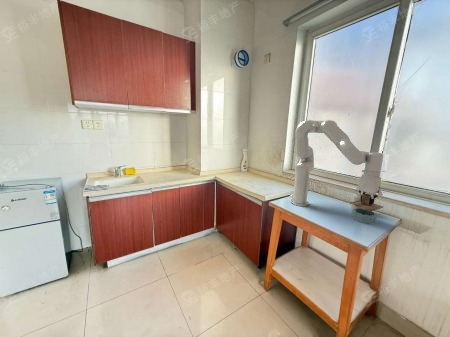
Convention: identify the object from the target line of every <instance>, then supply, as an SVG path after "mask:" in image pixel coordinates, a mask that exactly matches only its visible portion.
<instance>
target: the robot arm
mask: <svg viewBox="0 0 450 337" xmlns="http://www.w3.org/2000/svg"><path fill="white" fill-rule="evenodd" d="M314 133H315V134H324V135H325V136H326V138H327V139H329V140H330V141H331V142H332V143H333V144H334V146H335V147H336V148H337V149H338V150H339V152H340V153H341V154H342V155H343V156H344V157H345V159H347V161H348V162H350V164H353V165H355V166H359V165H362V164H365V165H364V169H362V170H361V172H362V173H363V174H361V176H360V178H359V181H358V185H357V186H356V188H355V189H356V190H357V192H358V193H360V195H361V199H360V200H361V201H362V195H363V194H370V195H371V198H370V201H369V205H372V204H373V203H374V204H375V199H377V198H378V197H382V196H384V195H383V193H382V190H381V189H382V177H381V172H382V165H383V161H384V154H383V153H381V152H374V151H371V152H370V151H369V152H368V151H364V150H359V148H357V147H356V146H355V144H354V143H353V142H352V140H351V139H350V137H349V135H348V134H347V133H345V132H344V131H343V129H342V128H341V127H339V125H338V123H337V122H336V121H335V120H331V119H328V120H327V119H326V120H311V119H306V120H304V121H302V122H300V123H299V124H298V125H297V127H296V128H295V133H294V136H295V156H296V157H297V159H299V160H300V161H299V162H298V163H296V165H295V167H294V184H293V193H292V194H290V195H289V197H290V198H291V199H290V203H291V204H292V203H293V205H294V204H295V206H298V207H307V206H309V203H310V202H309V201H308V193H309V182H310V172H312V171H313V170H314V168H315V162H314V161H315V158H314V154H315V153H314V149H313V148H312V147H311V146H310V145H309V134H314Z"/></svg>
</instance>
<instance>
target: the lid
mask: <svg viewBox="0 0 450 337" xmlns="http://www.w3.org/2000/svg"><path fill="white" fill-rule="evenodd" d="M370 198H371V194H370V193H365V194H363V195H362V201H361V200H358V201H354V202H352V201H351V202H350V203H349V204H350V205H351V206H352V205H355V206H358V207H361V208H364V209H366V210H369V211H373V212H375V211H376V210H381V209H383V208H384V206H383V205H380V204H377V203H375V202H374V203H373V204H372V205H369V201H370Z"/></svg>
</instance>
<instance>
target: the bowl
mask: <svg viewBox="0 0 450 337" xmlns="http://www.w3.org/2000/svg"><path fill="white" fill-rule="evenodd" d="M377 216H378V215H377V213H376V212H375V211H369V210H366V209H362V208H355V209H353V210H352V214H351V217H352V219H353V220H354V221H357V222H359V223H361V224H365V225H366V224H367V225H372V224H376V221H377Z"/></svg>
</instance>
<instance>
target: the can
mask: <svg viewBox="0 0 450 337" xmlns="http://www.w3.org/2000/svg"><path fill="white" fill-rule="evenodd" d="M360 199H361V195H360V193H359V192H355V193H354V194H353V195H352V201H351V202H354V201H358V200H360ZM355 208H361V207H358V206H355V205H352V204H351V210H352V211H353V209H355ZM362 209H364V208H362Z"/></svg>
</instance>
